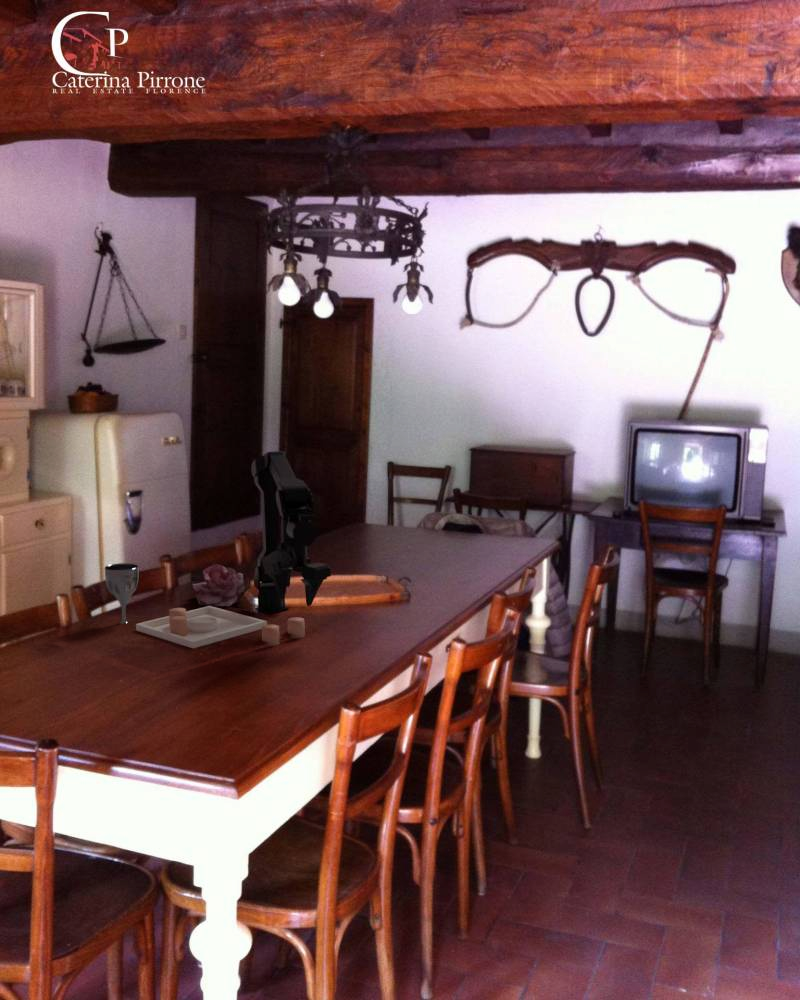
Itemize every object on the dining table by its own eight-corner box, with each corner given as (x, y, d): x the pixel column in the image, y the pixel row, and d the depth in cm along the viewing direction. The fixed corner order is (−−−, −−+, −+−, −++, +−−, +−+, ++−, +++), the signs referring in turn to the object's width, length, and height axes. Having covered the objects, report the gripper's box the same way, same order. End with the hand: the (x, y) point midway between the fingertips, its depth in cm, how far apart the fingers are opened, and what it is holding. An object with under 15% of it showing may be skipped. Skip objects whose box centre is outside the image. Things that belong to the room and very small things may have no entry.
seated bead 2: (180, 631, 239) (180, 615, 238) (191, 634, 236) (190, 618, 235) (166, 635, 236) (166, 618, 235) (177, 638, 233) (176, 621, 232)
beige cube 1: (296, 632, 241) (296, 616, 241) (308, 635, 239) (307, 619, 238) (284, 636, 238) (283, 619, 238) (295, 639, 236) (295, 623, 235)
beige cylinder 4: (179, 622, 246) (179, 606, 245) (189, 625, 243) (189, 609, 243) (166, 626, 243) (165, 610, 242) (176, 629, 240) (175, 613, 240)
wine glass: (107, 632, 242) (104, 571, 240) (107, 623, 249) (104, 564, 247) (141, 629, 244) (138, 569, 242) (140, 620, 252) (138, 562, 249)
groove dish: (209, 615, 256) (209, 603, 256) (267, 631, 242) (267, 619, 242) (136, 634, 240) (135, 622, 240) (193, 652, 226) (192, 639, 225)
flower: (183, 589, 271) (189, 557, 267) (235, 590, 278) (242, 559, 274) (196, 618, 259) (203, 584, 255) (250, 618, 266) (258, 585, 262)
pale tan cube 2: (271, 640, 235) (271, 623, 235) (283, 643, 233) (282, 626, 232) (258, 643, 232) (258, 627, 232) (270, 647, 230) (269, 630, 229)
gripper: (241, 537, 235) (243, 602, 237) (296, 548, 223) (297, 616, 225) (277, 530, 243) (278, 593, 246) (331, 540, 231) (332, 606, 233)
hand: (295, 602), depth 237 cm, fingers open, 9 cm apart
